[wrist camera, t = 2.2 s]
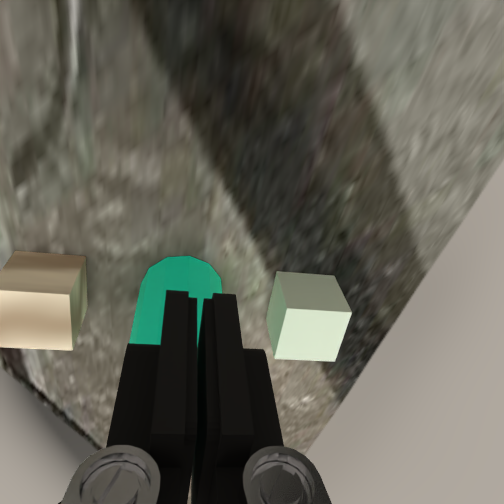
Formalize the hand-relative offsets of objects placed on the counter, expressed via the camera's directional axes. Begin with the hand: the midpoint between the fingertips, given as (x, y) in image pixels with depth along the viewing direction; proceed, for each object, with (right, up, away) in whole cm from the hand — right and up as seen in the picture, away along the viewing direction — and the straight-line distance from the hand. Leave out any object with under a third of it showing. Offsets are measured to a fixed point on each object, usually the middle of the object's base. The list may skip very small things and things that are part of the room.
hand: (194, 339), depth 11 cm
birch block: (-13, 0, +20) cm, 23 cm away
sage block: (+5, -1, +23) cm, 23 cm away
